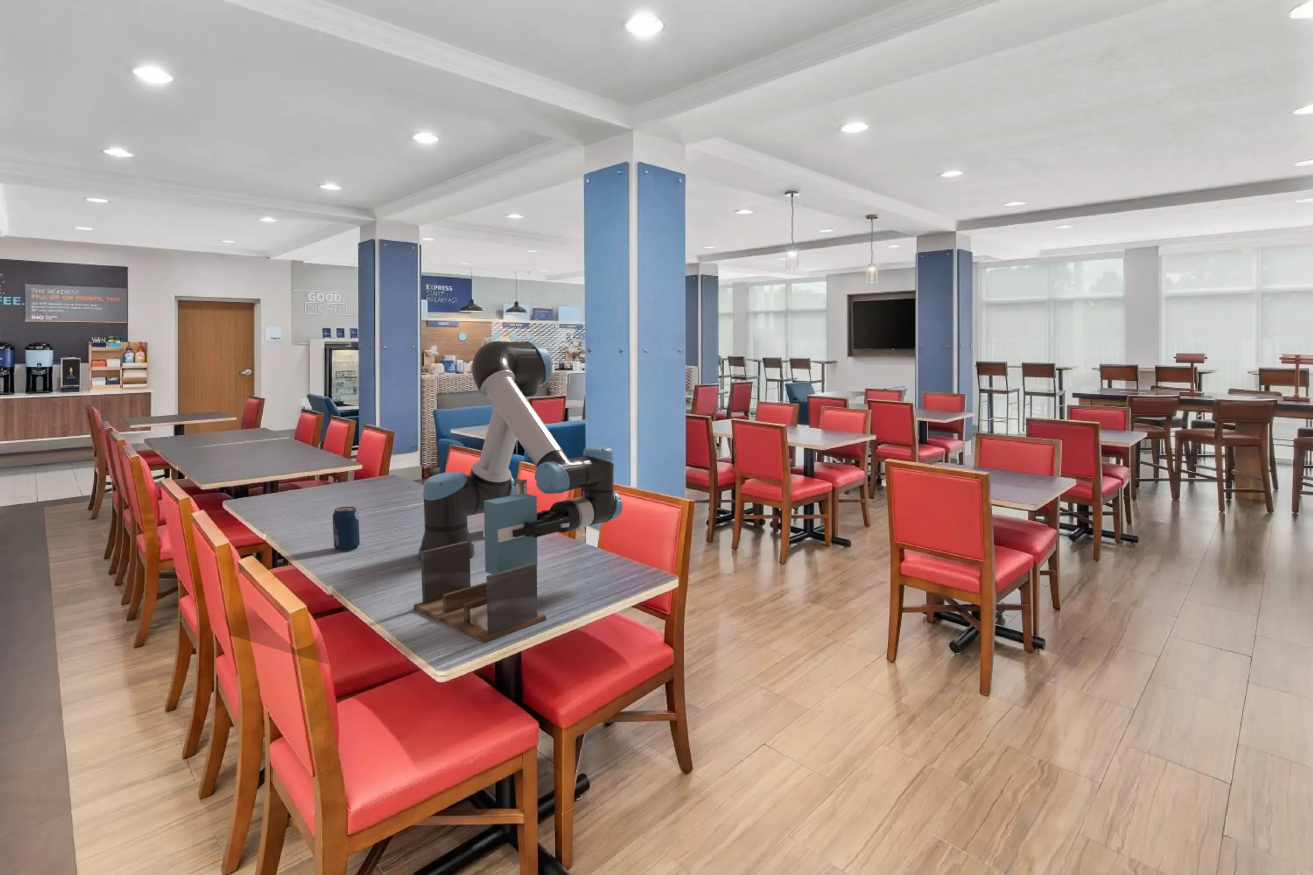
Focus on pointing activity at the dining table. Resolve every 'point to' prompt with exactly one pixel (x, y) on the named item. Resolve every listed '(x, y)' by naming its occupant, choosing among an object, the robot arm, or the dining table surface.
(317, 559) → the dining table surface
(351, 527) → the soda can
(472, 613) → the book rack
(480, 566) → the dining table surface
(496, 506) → the book
